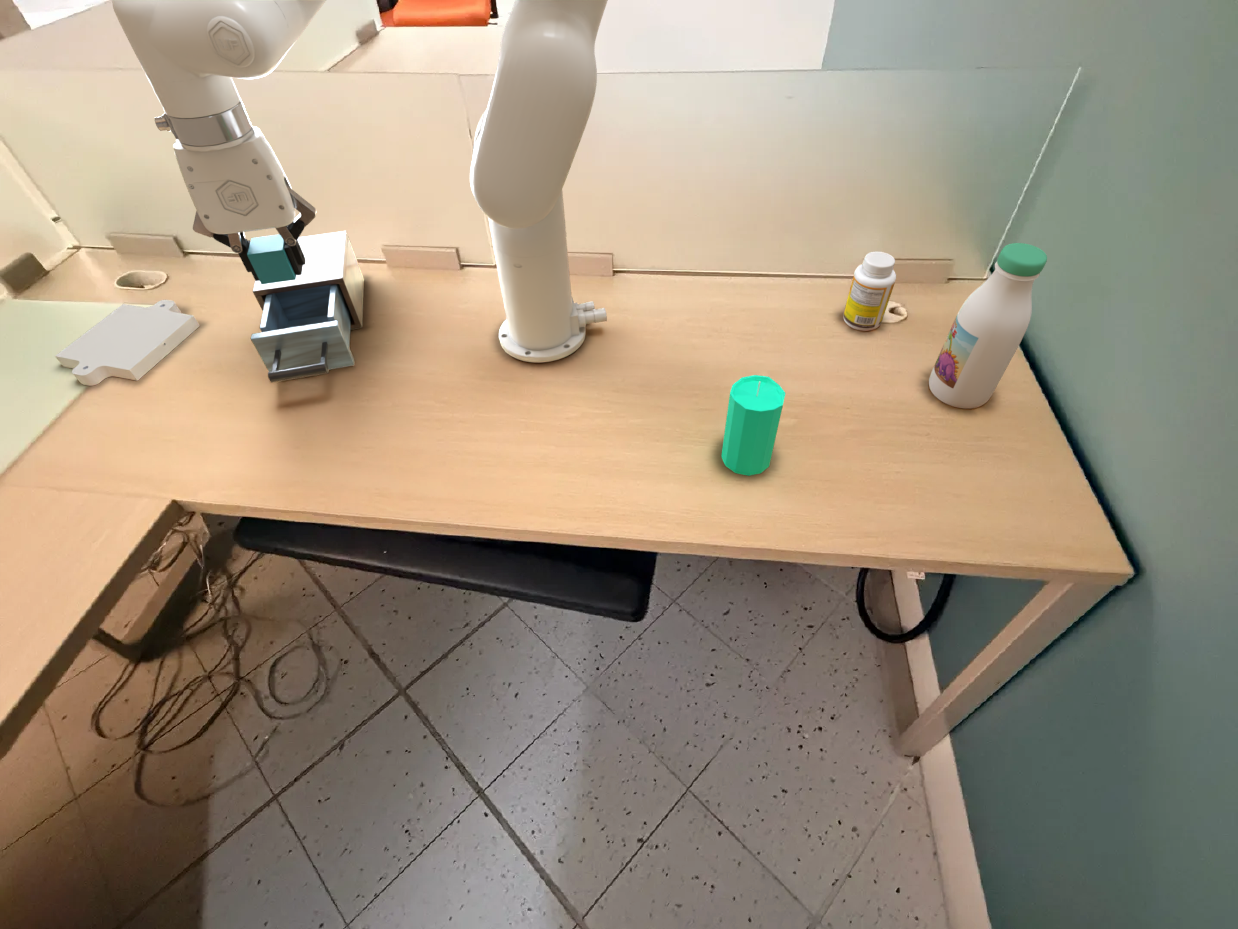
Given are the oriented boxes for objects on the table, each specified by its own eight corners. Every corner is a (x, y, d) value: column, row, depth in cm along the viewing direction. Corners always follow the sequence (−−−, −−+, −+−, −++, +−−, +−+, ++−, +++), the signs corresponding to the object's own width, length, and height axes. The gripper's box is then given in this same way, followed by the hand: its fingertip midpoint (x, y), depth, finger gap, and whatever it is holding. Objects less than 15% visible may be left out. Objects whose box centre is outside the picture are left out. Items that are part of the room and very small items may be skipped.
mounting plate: (124, 392, 89) (115, 382, 88) (49, 377, 92) (39, 367, 90) (210, 316, 101) (204, 305, 99) (142, 304, 103) (135, 294, 102)
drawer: (353, 393, 87) (335, 352, 82) (267, 407, 85) (244, 367, 80) (356, 313, 99) (341, 274, 94) (281, 325, 97) (262, 286, 92)
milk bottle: (991, 379, 87) (1065, 242, 72) (987, 417, 82) (1064, 278, 67) (931, 365, 89) (990, 228, 74) (923, 400, 84) (984, 262, 69)
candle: (739, 482, 76) (752, 408, 67) (711, 449, 80) (720, 374, 71) (781, 464, 78) (799, 389, 69) (752, 432, 81) (766, 357, 72)
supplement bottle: (864, 306, 98) (883, 244, 91) (889, 326, 95) (910, 263, 87) (834, 315, 97) (850, 253, 89) (857, 336, 93) (876, 273, 86)
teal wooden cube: (298, 262, 86) (285, 233, 83) (295, 279, 83) (282, 249, 80) (265, 267, 85) (251, 237, 82) (261, 284, 83) (246, 254, 80)
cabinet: (362, 328, 98) (342, 278, 91) (278, 341, 96) (252, 291, 90) (364, 279, 107) (346, 230, 100) (287, 290, 105) (263, 241, 98)
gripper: (118, 146, 67) (206, 298, 81) (289, 128, 69) (346, 278, 83) (136, 118, 72) (216, 266, 86) (295, 102, 74) (348, 248, 88)
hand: (279, 270), depth 84 cm, fingers closed on teal wooden cube, 4 cm apart
